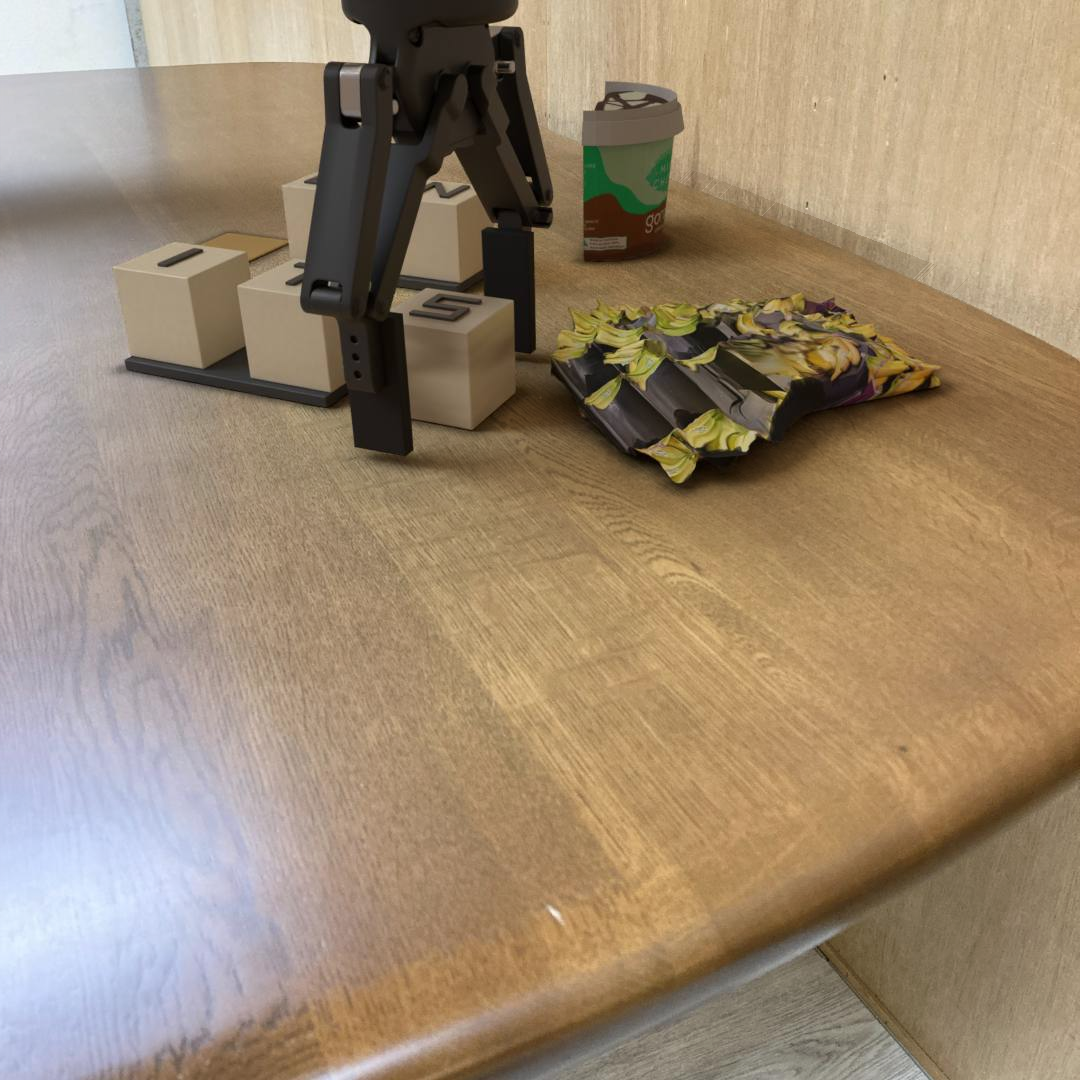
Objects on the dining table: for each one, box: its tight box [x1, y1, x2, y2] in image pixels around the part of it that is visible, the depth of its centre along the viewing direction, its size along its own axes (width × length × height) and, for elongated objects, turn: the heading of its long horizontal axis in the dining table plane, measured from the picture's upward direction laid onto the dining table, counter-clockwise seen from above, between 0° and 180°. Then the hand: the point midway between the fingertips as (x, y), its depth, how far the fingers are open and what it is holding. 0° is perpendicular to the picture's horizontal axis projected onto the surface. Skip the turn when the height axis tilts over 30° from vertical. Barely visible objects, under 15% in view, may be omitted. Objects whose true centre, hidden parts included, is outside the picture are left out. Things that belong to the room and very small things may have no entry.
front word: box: [112, 241, 371, 408], centre depth 61 cm, size 13×6×6 cm, turn 66°
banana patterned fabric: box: [549, 292, 941, 484], centre depth 58 cm, size 20×16×7 cm
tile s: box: [390, 288, 517, 431], centre depth 57 cm, size 5×5×5 cm
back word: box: [199, 170, 495, 293], centre depth 77 cm, size 22×6×6 cm, turn 66°
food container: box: [581, 80, 685, 262], centre depth 79 cm, size 12×6×10 cm, turn 170°
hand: (453, 394), depth 58 cm, fingers open, 13 cm apart
